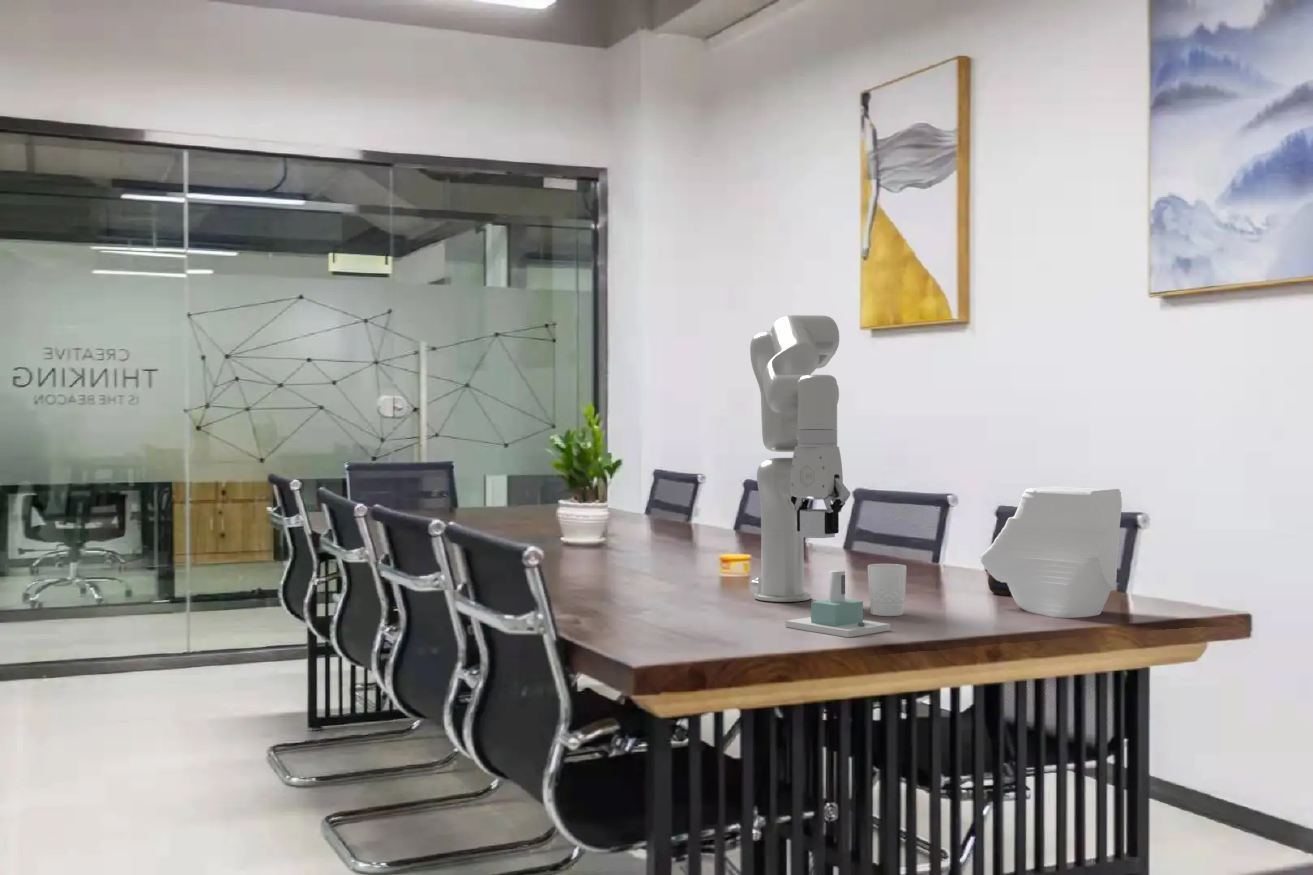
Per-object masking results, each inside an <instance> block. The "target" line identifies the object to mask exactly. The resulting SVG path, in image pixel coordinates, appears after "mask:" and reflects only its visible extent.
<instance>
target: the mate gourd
mask: <svg viewBox="0 0 1313 875" xmlns="http://www.w3.org/2000/svg"><path fill="white" fill-rule="evenodd" d="M987 580H988V581H987V582H988V583H987V584H988V586H989V587H988V588H989V590H990V592H992V593H993V594H994V595H997V596H998V595H1000V596H1012V594H1011V591H1010V589H1009V586H1008V585H1007V583H1006V582H1000V581H997V580H996V579H995V578H994V577H993V576H992V575H990V573H989V575H988V578H987Z"/></svg>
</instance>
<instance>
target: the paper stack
mask: <svg viewBox="0 0 1313 875" xmlns="http://www.w3.org/2000/svg"><path fill="white" fill-rule="evenodd" d="M1122 499H1123V498H1122V492H1121V490H1120V488H1108V487H1107V488H1105V487H1104V488H1102V487H1081V486H1058V485H1056V486H1055V485H1051V486H1039V487H1030V488H1025V490H1024V492H1023V493H1022V495H1021V499H1020V501H1019V504H1018V505H1017V508H1016V510H1015V513H1014V515H1013V516H1011V517H1010V516H1009V517H1008V518H1007V520H1006V522H1005V524H1004V526H1003V527H1002V529H1001V531H1000V532H999V533H998V534H997V536H996V538H994V541H993V543H991V545H990V546H989V547H988V548H987V549H985V551H984V552H983V553H982V554H981V555H980V558H979V559H980V563H981V564H982V566H983V567H984V568H985V570H986V571H987V572H988V573H989V574H990V575H992V576H993V577H994V578H995V579H996V580H997V581H1000V582H1006V583H1007V585H1008V586H1009V589H1010V591H1011V594H1012V595H1011V597H1013V599H1014V602H1015V604H1016V605H1017V606H1018V608H1021V609H1023V610H1024V611H1025V612H1029V613H1033V614H1037V615H1041V616H1047V617H1053V618H1061V619H1064V618H1066V619H1067V618H1069V619H1071V618H1072V619H1073V618H1088V617H1094V616H1099V615H1101V613H1102V612H1103V609H1104V607H1105V604H1106V602H1107V600H1108V598H1109V596H1110V594H1111V591H1112V589H1114V588H1115V586H1116V583H1117V577H1118V576H1117V575H1118V573H1117V572H1118V559H1119V552H1120V539H1121V538H1120V536H1121V529H1120V528H1121V527H1120V526H1121V519H1122V516H1121V515H1122V508H1123V501H1122Z"/></svg>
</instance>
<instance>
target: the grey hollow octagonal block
mask: <svg viewBox="0 0 1313 875" xmlns="http://www.w3.org/2000/svg"><path fill="white" fill-rule="evenodd" d="M825 513H828V512H827V509H826V508H825V509H824V508H808V509H804V510H800V537H804V538H809V539H827V538H831V539H832V538H835V537H836V534H826V533H825Z"/></svg>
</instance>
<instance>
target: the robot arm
mask: <svg viewBox="0 0 1313 875" xmlns="http://www.w3.org/2000/svg"><path fill="white" fill-rule="evenodd" d="M750 341H751V342H750V347H749V355H750V362H751V366H752V370H753V371H752V372H753V374H754V377H755V378H756V381H757V384H758V387H759V392H760V406H761V407H760V409H761V412H760V413H761V414H760V415H761V434H762V442H763V445H764V447H765V448H766V449H767V450H768V451H772V452H775V453H793V454H792V457H773V458H767V459H765V460H764V461H762V462H761V463H760V464H759V465H758V467H757V470H756V471H757V473H756V482H757V489H758V495H759V496H758V497H759V503H760V539H761V540H760V544H761V546H760V547H761V548H760V550H761V551H760V552H761V553H760V554H761V555H760V561H761V562H760V564H761V565H760V566H761V567H760V568H761V570H760V571H761V572H760V574H761V575H760V577H759V576H758V577H756V578H754V579H753V580H751V582H750V584H751V586H752V587H757V590H758V591H756V592H754V596H753V598H754V599H756V600H758V601H764V602H772V603H773V602H776V603H790V602H792V603H793V602H794V603H795V602H804V601H809V600H810V599H811V598H812V596H811V593H810V592H808V591H804V590H805V589H804V588H805V587H804V586H805V584H804V583H805V582H804V580H805V576H804V573H805V572H804V571H805V569H804V568H805V567H804V565H805V563H804V562H805V561H804V552H805V551H804V547H805V546H804V542H805V541H804V538H805V537H800V510H804V509H810V508H809V507H810V504H811V501H823V503H824V506H825V509H827V512H828V513H825V533H826V534H835V535H836V534H839V531H840V530H839V526H840V524H839V519H840V518H839V517H840V516H839V513H841V512H842V509H843V507H844V506H845V505H846V502H847V501H848V499H849V497H850V496H851V492H850V490H849V489H848V487H847V486H846V485H845V484H844V482H843V480H844V479H843V478H844V477H843V465H842V464H843V463H842V457H841V451H840V447H839V446H838V403H839V398H840V391H839V390H840V388H839V386H838V381H837V379H836V377H835V376H833V375H830V374H813V373H814V372H815V371H816V369H822V368H825V367H826V366H827V365H828V364H829V362H830V361H831V360H832V358H833V357H834V355H835V354H836V353H837V350H838V348H839V344H840V330H839V327H838V324H837V323H836V321H835V319H833V318H832V317H830V316H828V315H818V314H817V315H807V314H806V315H803V314H802V315H800V314H799V315H798V314H797V315H793V314H792V315H787V316H781V317H780V318H779V319H777V320H775V322H774V323H773V325H772V326H771V329H770V331H769V330H767V331H766V330H765V331H762V332H758V333H756V334H755V335H754V336H753V337H752V339H751V340H750Z"/></svg>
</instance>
